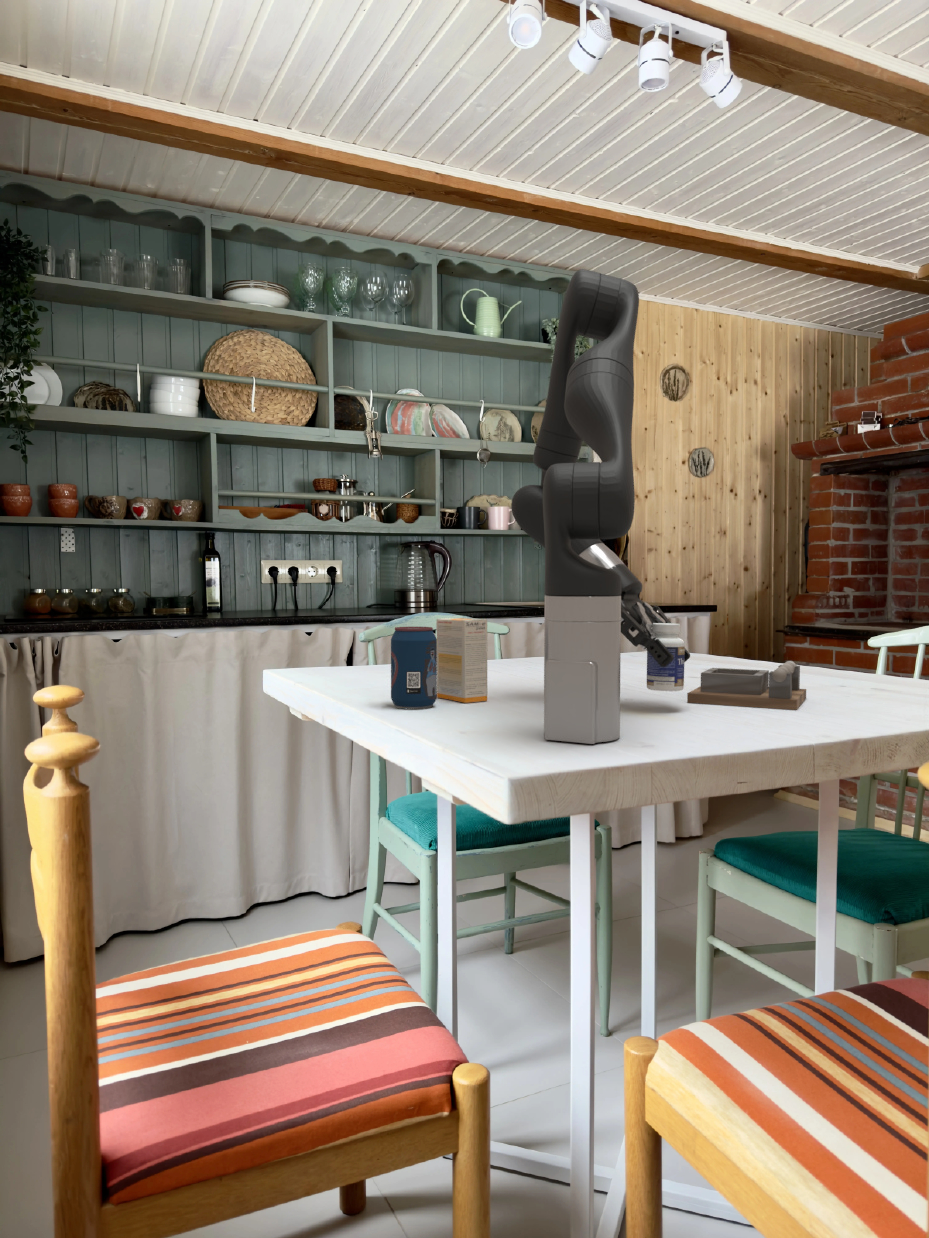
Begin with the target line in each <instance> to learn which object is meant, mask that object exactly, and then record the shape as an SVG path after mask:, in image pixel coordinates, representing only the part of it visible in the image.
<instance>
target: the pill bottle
mask: <svg viewBox="0 0 929 1238" xmlns="http://www.w3.org/2000/svg"><path fill="white" fill-rule="evenodd" d="M651 629H652V630H653V632H654V634H655V635H656V637H657V638H656V639H659V640H660V641H661V642H662V644H663V645H664V646H665V647H666V648H667V649H668V650H669V651H670V653H671V654H672V655H673V656H674V659H673V661H672V662H671V663H670V664H669V665H668V666H666V667H661V666H660V665H659V664H658V662H657V661H656V660H655V659H654V658H653V657H652V655H651V654H650V653H649V652H648V651H647V650H646V651H647V652H646V654H647V655H646V688H647V689H648V690H651V691H658V692H679V691H683V690H684V688H685V687H684V686H685V663H684V656H685V649H686V648H685V647H686V644H685V641H684V640H683V639H682V638H680V637H679V634H681V624H680V623H673V622H671V623H653V624H652V628H651ZM656 639H655V640H656Z"/></svg>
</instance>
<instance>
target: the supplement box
mask: <svg viewBox="0 0 929 1238" xmlns="http://www.w3.org/2000/svg"><path fill="white" fill-rule="evenodd" d="M435 621H436V625H435V626H436V639H437V698H438V699H446V700H450V701H455V702H459V703H464V704H469V703H471V704H472V703H479V702H487V701H488V619H486V618H471V617H446V618H445V617H442V618H437V619H435ZM437 698H436V699H437Z"/></svg>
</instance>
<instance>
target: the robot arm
mask: <svg viewBox="0 0 929 1238" xmlns="http://www.w3.org/2000/svg"><path fill="white" fill-rule="evenodd" d="M565 290H566V291H565V294H564V297H563V301H562V305H561V309H560V314H559V320H558V325H557V330H556V331H557V332H556V337H555V342H554V349H553V355H552V356H553V357H552V362H551V368H550V375H549V384H548V388H547V389H548V390H547V397H546V402H545V408H544V412H543V417H542V421H541V423H540V427H539V432H538V435H537V438H536V442H535V447H534V450H533V455H532V460H533V463H534V465H535V466H536V467H537V468H538V469H541V478H540V485H539V484H527V485H524V486H521V487H520V488H519V489H517V491H515V492H514V495H513V496H512V499H511V504H510V507H511V513H512V515H513V518H514V521H515V523H516V524H517V525H518V527H519V528H520V529H521V530H522V531H523V532H524V533H526V534H527V536H529V537H531V538H532V540H534V542H535V541H536V542H537V543H538V544H539V545H540V546H542V547H543V548H544V620H543V621H544V623H543V625H544V626H543V627H544V628H543V629H544V631H543V632H544V635H543V636H544V637H543V638H544V639H543V643H544V644H543V646H544V648H543V651H544V652H543V653H544V654H543V661H544V662H543V664H544V665H543V736H544V740H546V741H547V740H548V741H559V742H560V741H561V742H568V743H579V744H589V745H592V744H593V745H594V744H596V743H602V742H603V743H604V742H611V741H616V740H618V739H620V737H621V640H622V639H621V638H622V637H621V636H622V635H623V636H624V637H625V638H626V639H627V640H628V641H629V642H630V644H632V646H634V647H638V646H639V647H640V648H641V649H643V650H646V651H648V652H649V653H650V654H651V655H652V657H653V658H654V659H655V660H656V661H657V662H658V664H659V665H660V666H661V667H666V666H668V665H669V664H670V663H671V662H672V661H673V659H674V656H673V655H672V654H671V653H670V651H669V650H668V649H667V648H666V647H665V646H664V645H663V644H662V642H661V641H660V640H659V639H656V638H657V637H656V635H655V634H654V632H653V630H652V624H653V623H672V622H671V620H670V619H669V618H668V617H667V616H666V614H665V613H664V612H663V611H662V609H661V608H660V607H659V606H658V605H656V604H654V605H653V606H651V605H650V604H649V603H648V602H646V601H643V600H642V599H641V598H640V595H641V593H642V591H643V584H642V582H641V581H640V580H639V579H638V577H636V575H635V574H634V573H633V572H632V571H631V570H630V568H629V567H627V565H626V564H625V563H624V562H623V561H622V559H621V558H620V557H619V556H618V555H617V554H616V553H615V552H614V551H613V550H611V549H610V548H609V547H608V546H607V545H605V543H604V542H603V541H602V540H614V539H619V538H622V537H624V536H626V535H627V534H628V532H629V531H630V529H631V527H632V525H633V520H634V515H635V502H636V501H635V499H636V498H635V496H636V495H635V494H636V493H635V481H634V480H635V479H634V478H635V476H634V466H633V465H634V463H633V452H632V451H633V450H632V448H633V447H632V433H633V429H632V428H633V416H634V415H633V414H634V401H635V399H634V398H635V379H634V376H635V373H634V352H635V351H634V349H635V348H634V347H635V338H636V330H637V323H638V315H639V306H640V305H639V304H640V295H639V290H638V287H637V286H636V285H635V284H634V283H632V282H630V281H629V280H626V279H623V278H619V277H615V276H612V275H608V274H604V273H601V272H598V271H593V270H590V269H585V268H581V269H578V270H577V271H576V272H574V274H572V276H571V278H570V281H569V283H568V285H567V287H566V289H565ZM578 336H581V337H584V338H588V339H593V340H596V341H600V342H599V343H596V344H595V345H593V346H591V347H590V348H588V349H587V350H586V351H584V352H583V353H582V354H581V355H580V356H579V357H577V359H576V357H575V355H576V353H575V352H576V344H577V343H576V342H577V338H578ZM583 442H584V443H585V444H586V445H587V446H588V447H589V448H590V449H591V450H592V451H593V452H595V454H596V455H597V456H598V458H599V459H600V461H601V462H600V461H596V462H595V461H589V462H587V461H586V462H578V459H579V456H580V452H581V448H582V445H583ZM621 634H622V635H621ZM655 639H656V640H655ZM690 658H691V654H690V652H689V651H688V650H687V649H686V648H685V656H684V664H685V663H686V662H687V661H688V660H689V659H690Z"/></svg>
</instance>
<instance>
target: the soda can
mask: <svg viewBox="0 0 929 1238" xmlns="http://www.w3.org/2000/svg"><path fill="white" fill-rule="evenodd" d="M433 630H434V628H433V627H431V626H395V627H394V632H393V634H392V636H391V638H390V699H391V701H392V703H393V704H394V707H395V708H397V709H401V708H407V709H406V710H424V709H423V708H425V709H430V708H432V707H433V706H434V705H435V703H436V701H437V636H436V635H435V632H434V631H433Z"/></svg>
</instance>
